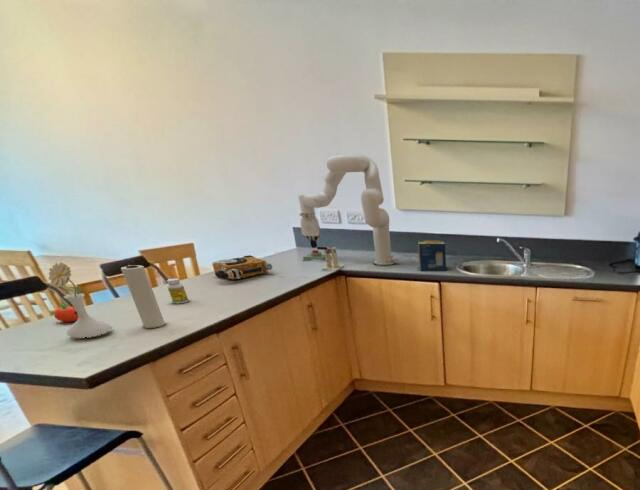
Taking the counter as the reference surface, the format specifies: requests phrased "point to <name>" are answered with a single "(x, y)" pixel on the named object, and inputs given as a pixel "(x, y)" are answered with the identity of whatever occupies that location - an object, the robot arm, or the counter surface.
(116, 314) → the counter surface
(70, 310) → the tomato
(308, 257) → the button box
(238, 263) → the device
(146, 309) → the paper towel roll
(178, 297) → the supplement bottle
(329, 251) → the lever
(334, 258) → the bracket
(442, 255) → the protein box
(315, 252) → the button
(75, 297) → the flower in vase
